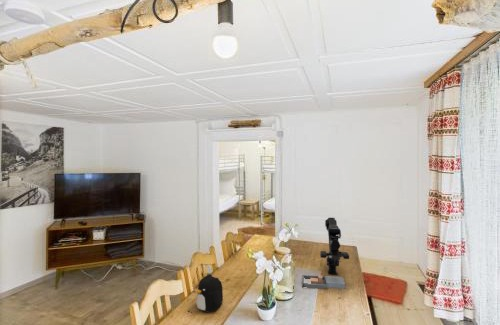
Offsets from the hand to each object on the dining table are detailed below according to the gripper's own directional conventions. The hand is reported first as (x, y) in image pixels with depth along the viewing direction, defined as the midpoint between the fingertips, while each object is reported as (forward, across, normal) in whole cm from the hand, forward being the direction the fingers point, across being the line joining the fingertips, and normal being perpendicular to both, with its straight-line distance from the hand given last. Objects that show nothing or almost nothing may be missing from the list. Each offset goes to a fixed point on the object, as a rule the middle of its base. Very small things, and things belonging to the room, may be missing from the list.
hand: (334, 267), depth 176 cm
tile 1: (+9, -14, -1) cm, 17 cm away
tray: (+12, -14, -1) cm, 18 cm away
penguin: (+12, -76, -40) cm, 87 cm away
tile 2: (+9, -8, -1) cm, 13 cm away
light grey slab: (+12, 0, -1) cm, 12 cm away
